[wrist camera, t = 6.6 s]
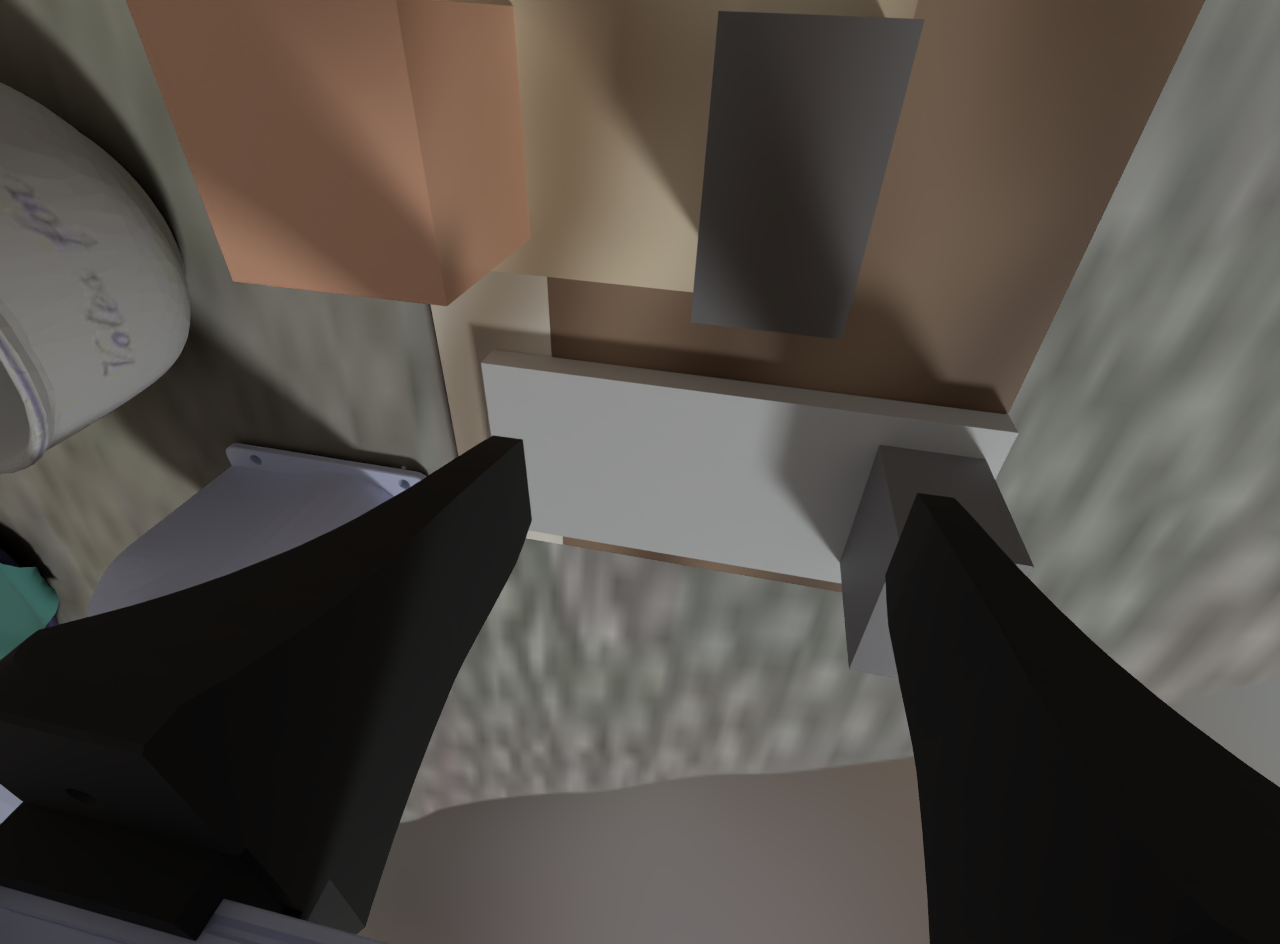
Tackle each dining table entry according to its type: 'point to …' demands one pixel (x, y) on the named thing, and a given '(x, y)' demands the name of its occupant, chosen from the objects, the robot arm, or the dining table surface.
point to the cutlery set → (23, 603)
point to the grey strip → (747, 472)
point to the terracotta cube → (348, 138)
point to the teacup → (76, 283)
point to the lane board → (897, 232)
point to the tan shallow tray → (711, 148)
